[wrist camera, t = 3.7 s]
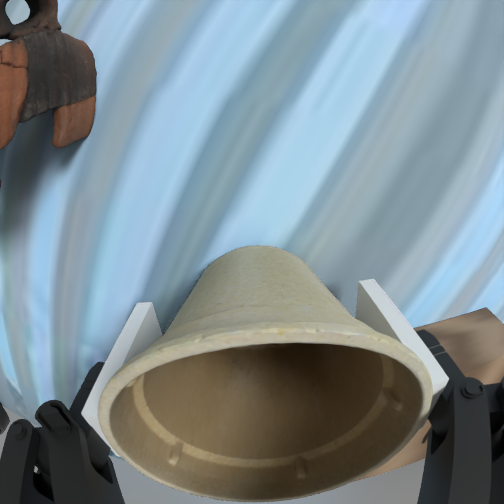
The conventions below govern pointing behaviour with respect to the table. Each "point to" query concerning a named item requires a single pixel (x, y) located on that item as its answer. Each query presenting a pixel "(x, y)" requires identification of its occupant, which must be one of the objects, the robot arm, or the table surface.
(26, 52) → the broken clay jug
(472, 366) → the walnut stand
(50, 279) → the table surface
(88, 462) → the robot arm
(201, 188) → the table surface
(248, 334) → the flower pot
